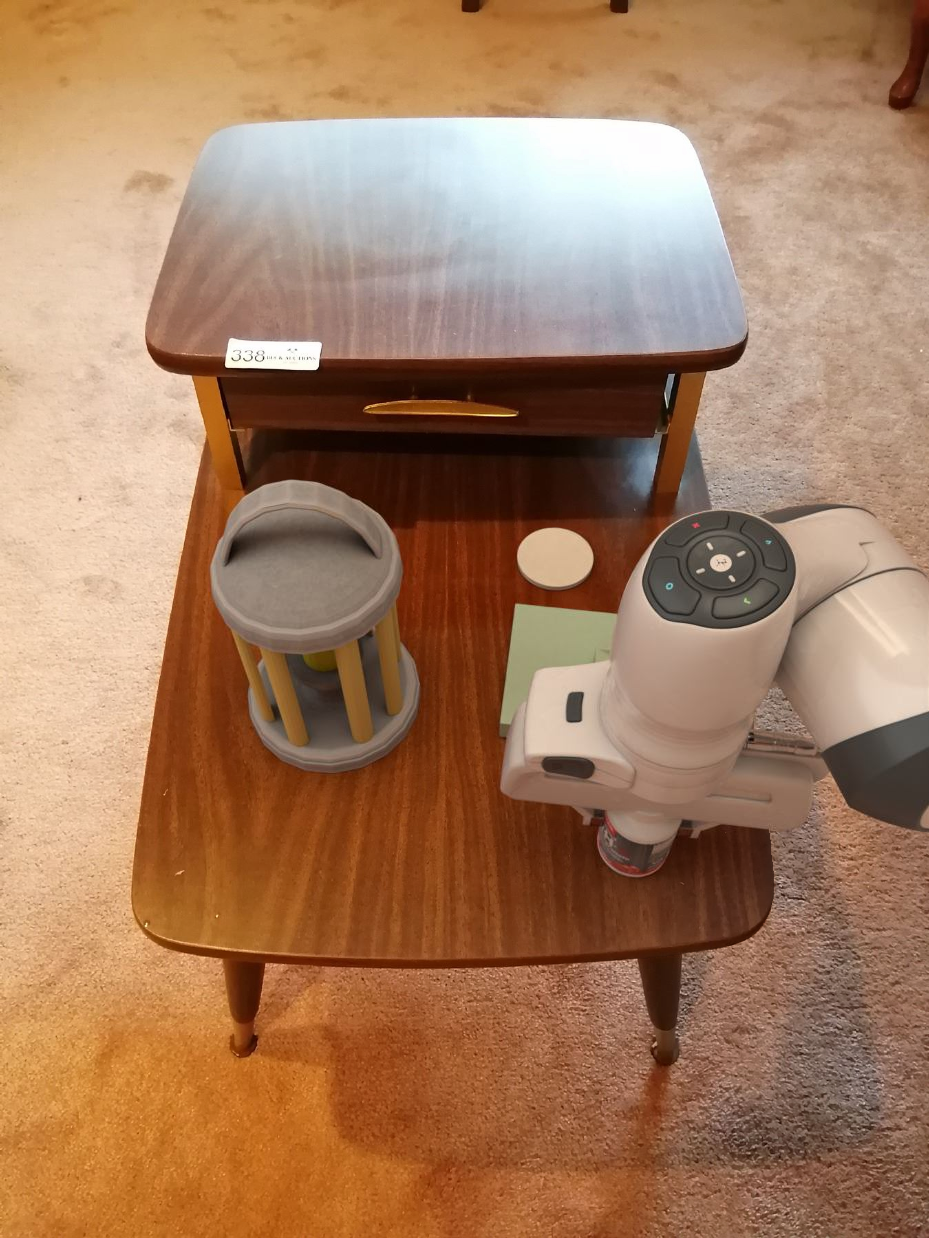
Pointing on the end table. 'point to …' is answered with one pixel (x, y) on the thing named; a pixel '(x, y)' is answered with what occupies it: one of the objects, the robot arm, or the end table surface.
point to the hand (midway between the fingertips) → (638, 822)
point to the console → (550, 647)
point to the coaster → (555, 559)
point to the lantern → (317, 624)
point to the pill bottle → (636, 841)
